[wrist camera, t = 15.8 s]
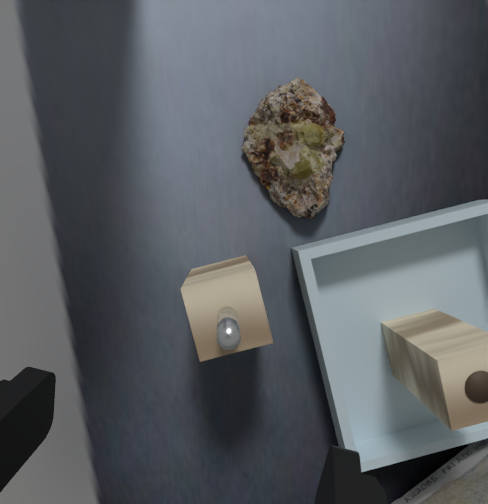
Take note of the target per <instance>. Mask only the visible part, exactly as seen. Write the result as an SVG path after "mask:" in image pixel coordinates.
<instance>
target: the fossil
mask: <svg viewBox="0 0 488 504" xmlns="http://www.w3.org/2000/svg"><path fill="white" fill-rule="evenodd" d="M392 504H488V438H487V439H483V440H480V441H476V442H472V443H470V444H469V445H468V446H467V447H466V448H464V449H463V450H462V451H460V452H459V453H458V454H457V455H456V456H454V457H453V458H452V459H450V460H449V461H448V462H447V463H445V464H444V465H443V466H441V467H440V468H439V469H438V470H436V471H435V472H433V473H432V474H431V475H430V476H429V477H427V478H426V479H424V480H423V481H422V482H420V483H419V484H417V485H416V486H415V487H414V488H412V489H411V490H410V491H408V492H407V493H406V494H405V495H403V496H402V497H401V498H398V499H397V500H395V501H394V502H393V503H392Z"/></svg>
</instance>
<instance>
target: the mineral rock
mask: <svg viewBox="0 0 488 504" xmlns="http://www.w3.org/2000/svg"><path fill="white" fill-rule="evenodd" d="M335 121H336V119H335V112H334V110H333V109H332V108H331V107H330V105H329V104H328V103H327V102H326V100H325V99H324V98H323V97H321V96H320V95H319V94H318V93H317V91H316V90H315V89H313V88H312V87H311V86H310V85H309V84H308V83H306V82H305V81H304V80H303V79H300V78H297V79H294V80H293V81H291V82H289V83H288V84H287V85H284V86H281V85H280V86H278V87H277V88H276V90H275V91H274V92H270V93H269V94H268V95H266V98H264V99H262V101H261V102H260V103H259V106H258V108H257V110H256V111H255V113H254V114H253V115H252V116H251V118H250V121H249V126H248V127H247V128H245V130H244V142H243V146H242V147H241V149H242V152H244V153H245V154H246V156H247V158H248V161H249V162H250V163H252V169H253V171H254V174H256V176H257V177H259V179H260V184H262V185H263V186H264V187H265V188H266V189H268V191H269V193H270V199H271V200H272V201H273V202H274V203H276V204H278V206H280V207H286V208H287V209H288V210H289V211H290V212H291V213H292V214H293V216H296V217H299V218H300V217H302V216H304V217H307V218H309V219H311V218H314V217H315V216H316V214H317V213H318V212H320V211H321V210H322V209H323V208H324V207H326V206H327V205H328V204H329V196H330V192H329V188H330V185H331V183H332V181H331V180H332V179H333V176H332V173H331V171H332V163H333V162H334V161H335V160H336V157H337V155H336V151H340V150H341V146H343V145H344V143H345V141H344V137H343V135H344V133H345V132H343V131H342V130H340V129H337V128H336V127H335V126H334V123H335Z"/></svg>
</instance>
